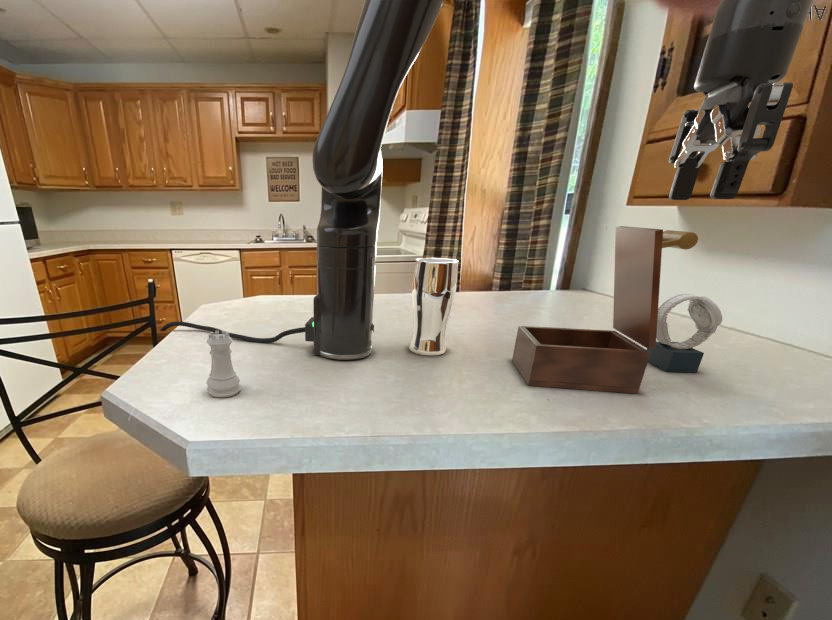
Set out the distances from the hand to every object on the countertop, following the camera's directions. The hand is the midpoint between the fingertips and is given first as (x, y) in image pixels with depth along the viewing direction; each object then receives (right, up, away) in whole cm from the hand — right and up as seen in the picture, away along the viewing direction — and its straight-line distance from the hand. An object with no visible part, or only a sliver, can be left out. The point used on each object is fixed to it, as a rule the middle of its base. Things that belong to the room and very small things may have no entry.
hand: (698, 199), depth 51 cm
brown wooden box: (-9, -21, +11) cm, 26 cm away
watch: (+9, -20, +15) cm, 26 cm away
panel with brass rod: (-5, -9, +5) cm, 11 cm away
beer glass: (-27, -17, +22) cm, 39 cm away
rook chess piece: (-59, -24, +5) cm, 63 cm away
